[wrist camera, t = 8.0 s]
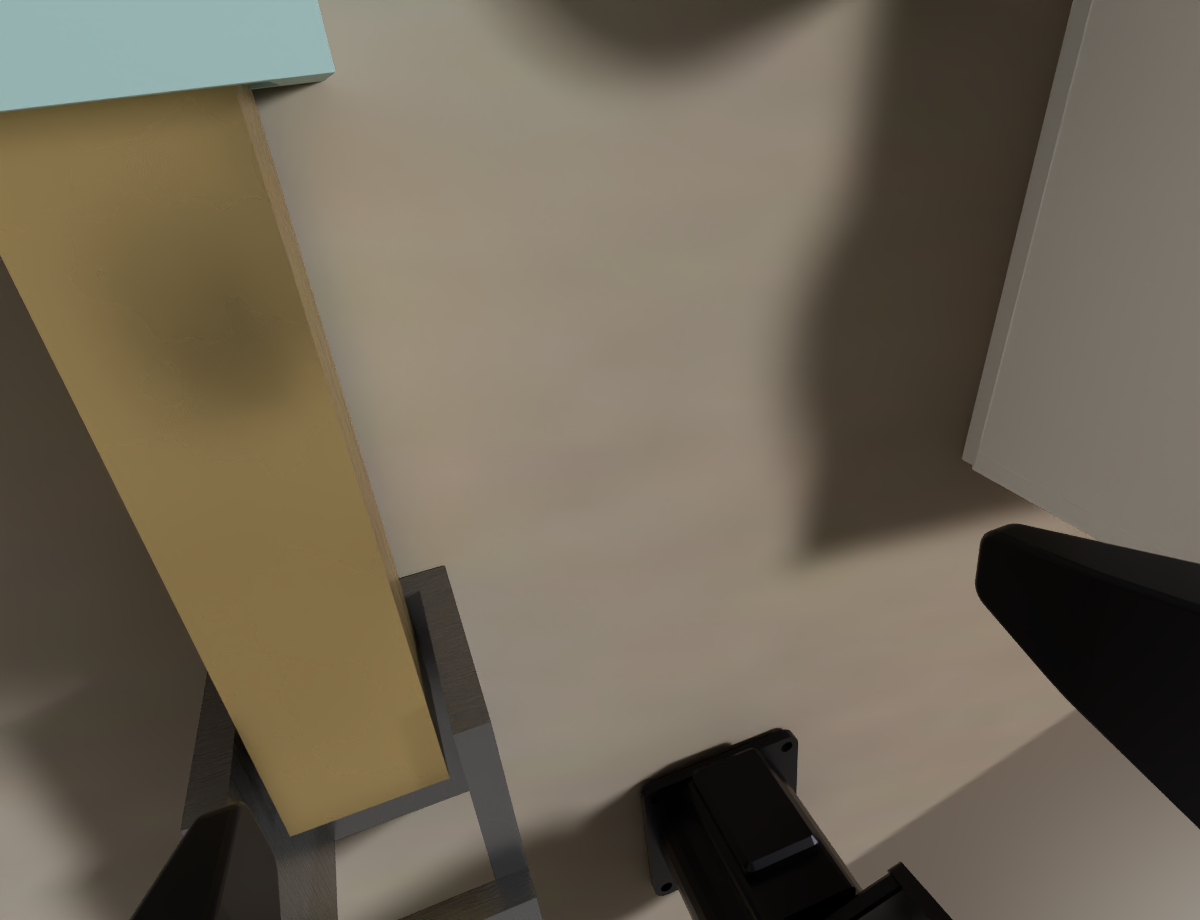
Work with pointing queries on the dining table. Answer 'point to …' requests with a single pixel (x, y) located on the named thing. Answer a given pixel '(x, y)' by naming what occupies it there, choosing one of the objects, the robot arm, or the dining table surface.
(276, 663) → the peg
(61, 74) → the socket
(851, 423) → the dining table surface
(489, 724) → the sleeve
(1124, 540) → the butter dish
